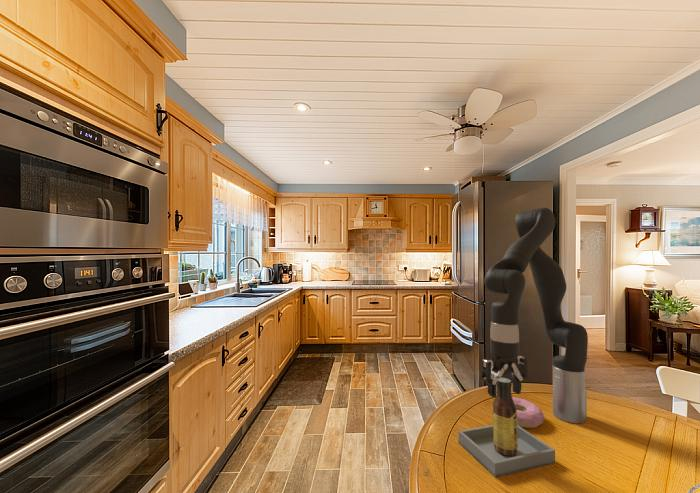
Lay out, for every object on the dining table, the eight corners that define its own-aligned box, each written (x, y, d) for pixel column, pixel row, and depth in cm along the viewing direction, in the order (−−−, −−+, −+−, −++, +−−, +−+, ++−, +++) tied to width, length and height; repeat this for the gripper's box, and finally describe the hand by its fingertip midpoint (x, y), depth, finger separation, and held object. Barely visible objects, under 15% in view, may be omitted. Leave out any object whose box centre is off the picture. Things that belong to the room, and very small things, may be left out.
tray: (512, 432, 99) (512, 421, 99) (555, 463, 84) (555, 450, 84) (458, 442, 93) (458, 430, 93) (494, 477, 79) (494, 463, 79)
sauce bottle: (520, 459, 85) (519, 386, 86) (496, 455, 86) (495, 383, 87) (513, 444, 91) (512, 377, 92) (490, 441, 93) (490, 375, 93)
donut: (484, 410, 113) (484, 396, 113) (519, 405, 117) (519, 392, 117) (517, 434, 98) (517, 418, 98) (555, 428, 102) (555, 413, 102)
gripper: (514, 333, 95) (514, 386, 95) (475, 336, 91) (475, 391, 91) (534, 339, 88) (535, 397, 88) (493, 343, 84) (493, 403, 83)
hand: (504, 394), depth 89 cm, fingers open, 8 cm apart
